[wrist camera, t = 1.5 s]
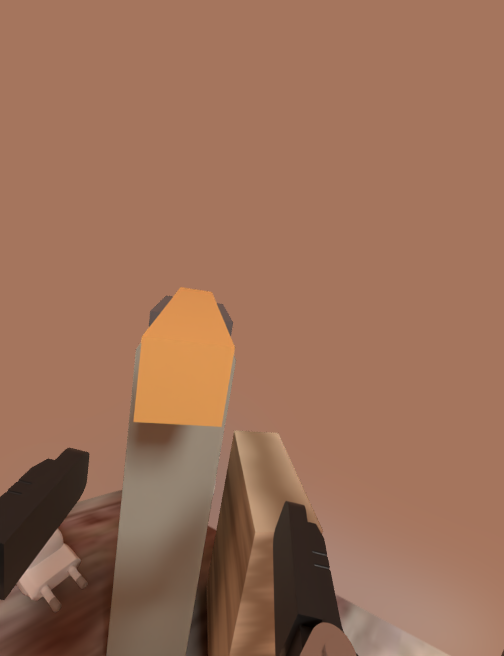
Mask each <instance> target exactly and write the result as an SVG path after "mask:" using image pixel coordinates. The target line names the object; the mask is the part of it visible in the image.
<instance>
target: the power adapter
mask: <svg viewBox="0 0 504 656" xmlns="http://www.w3.org/2000/svg"><path fill="white" fill-rule="evenodd" d="M80 562H81V560H80V558H79V557H78V556H77V555H76V554H75V553H74V551H73V550H72V549H71V548H70V547H69V546H68V545H67V544H64V543H63V536H62V533H61V531H60V530H59V529H58V528H57V530H56V531H55V532H54V534H53V535H52V536H51V538H50V539H49V540H48V542H47V543H46V545H45V546H44V547H43V549H42V550H41V551H40V553H39V554H38V555H37V557H36V558H35V559H34V561H33V562H32V563H31V565H30V566H29V567H28V569H27V570H26V571H25V573H24V574H23V575H22V577H21V578H20V579H19V581H18V582H17V584H16V585H17V586H18V588H19V589H20V590H21V592H22V593H23V594H24V595H26V596H29V597H30V598H31V600H35V601H37V600H38V599H40V598H42V597H44V598H45V599H46V601H47V602H48V604H49V606H50V607H51V609H52V610H53V612H58V611H59V610H60V608H61V603H60V602H59V600H58V599H57V597H55V595H54V594H53V593H52V591H51V590H52V589H53V588H55V587H56V586H57V585H58V584H60V583H61V582H62V581H63V580H65V579H66V578H67V577H69V576H71V577H72V578H73V579H74V580H75V582H76V583H77V585H78V586H79V587H80V588H81V589H84V588H85V587H86V586H87V581H86V580H85V578H84V577H83V576H82V575H81V574H80V573H79V572H78V571H77V568H78V566H79V564H80Z"/></svg>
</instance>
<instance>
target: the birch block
mask: <svg viewBox="0 0 504 656" xmlns="http://www.w3.org/2000/svg"><path fill="white" fill-rule="evenodd" d="M285 501H290V502H294V503H298V504H302V505H304V506H305V508H306V513H307V520H308V522H311V523H315V524H317V526H318V528H319V530H320V532H321V534H322V532H323V530H322V528H321V526H320V523H319V521H318V519H317V517H316V515H315V513H314V510H313V508H312V506H311V504H310V502H309V500H308V497H307V495H306V493H305V491H304V489H303V486H302V484H301V482H300V480H299V478H298V476H297V473H296V472H295V469H294V467H293V465H292V463H291V460H290V458H289V456H288V454H287V452H286V449H285V447H284V445H283V443H282V441H281V439H280V436H279V434H278V433H267V432H249V431H234V436H233V442H232V448H231V452H230V458H229V464H228V469H227V475H226V480H225V486H224V492H223V497H222V503H221V508H220V514H219V520H218V525H217V531H216V536H215V542H214V547H213V553H212V559H211V564H210V570H209V575H208V581H207V633H208V656H275V620H274V576H273V537H274V531H275V528H276V525H277V522H278V519H279V516H280V514H281V511H282V508H283V505H284V503H285Z"/></svg>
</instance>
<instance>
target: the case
mask: <svg viewBox="0 0 504 656" xmlns="http://www.w3.org/2000/svg"><path fill="white" fill-rule="evenodd" d="M172 298H173V297H172V296H165V297H164V299H162V300H161V301H160V302H159V303H158V304H157V305H156V306H155V307H154V308H153V309H152V310H151V311H150V321H149V327H150V326H151V324H152V323H153V322H154V321H155V319H156V318H157V317H158V316H159V314H160V313H161V312H162V310H163V309H164V308H165V307H166V305H167V304H168V303H169V302H170V300H171V299H172ZM217 306H218V308H219V310H220V313H221V315H222V318H223V320H224V322H225V325H226V327H227V330H228V332H229V334H230V337H231V332H232V325H233V322H232V320H231V318H230V316H229V314H228V313H227V311H226V309H225V307H224V306H223V304H218V303H217ZM140 352H141V343H140V345H139V346H138V348H137V349H136V357H135V367H134V378H133V387H132V398H131V408H130V418H129V429H128V439H127V450H126V459H125V469H124V480H123V490H122V500H121V510H120V521H119V531H118V541H117V551H116V562H115V572H114V582H113V592H112V603H111V613H110V623H109V633H108V644H107V654H106V656H185V655H186V650H187V644H188V638H189V632H190V626H191V620H192V614H193V609H194V603H195V597H196V591H197V585H198V579H199V573H200V568H201V562H202V556H203V550H204V544H205V538H206V532H207V527H208V521H209V515H210V509H211V503H212V497H213V495H214V490H215V484H216V474H217V468H218V462H219V456H220V450H221V444H222V439H223V433H224V427H225V421H226V415H227V409H228V403H229V398H230V392H231V386H232V380H233V374H234V368H235V363H236V359H235V356H233V362H232V368H231V374H230V380H229V386H228V392H227V398H226V404H225V410H224V416H223V421H222V427H214V426H197V425H179V424H161V423H144V422H133V421H134V411H135V401H136V391H137V381H138V371H139V361H140Z"/></svg>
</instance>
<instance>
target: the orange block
mask: <svg viewBox="0 0 504 656" xmlns="http://www.w3.org/2000/svg"><path fill="white" fill-rule="evenodd" d="M234 350H235V346H234V344H233V342H232V339H231V337H230V334H229V332H228V330H227V327H226V325H225V322H224V320H223V318H222V315H221V313H220V310H219V308H218V306H217V303H216V301H215V299H214V296H213V294H212V292H208V291H201V290H195V289H189V288H183V287H181V288H180V289H179V290H178V291H177V293H176V294H175V295H174V296H173V298H172V299H171V300H170V302H169V303H168V304H167V305H166V307H165V308H164V309H163V310H162V312H161V313H160V314H159V316H158V317H157V318H156V319H155V321H154V322H153V323H152V324H151V326H150V327H149V328H148V330H147V331H146V332H145V334H144V335H143V336H142V342H141V352H140V361H139V371H138V381H137V391H136V401H135V411H134V421H133V422H144V423H161V424H179V425H197V426H214V427H222V421H223V416H224V410H225V404H226V398H227V392H228V386H229V380H230V374H231V368H232V362H233V356H234Z"/></svg>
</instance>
